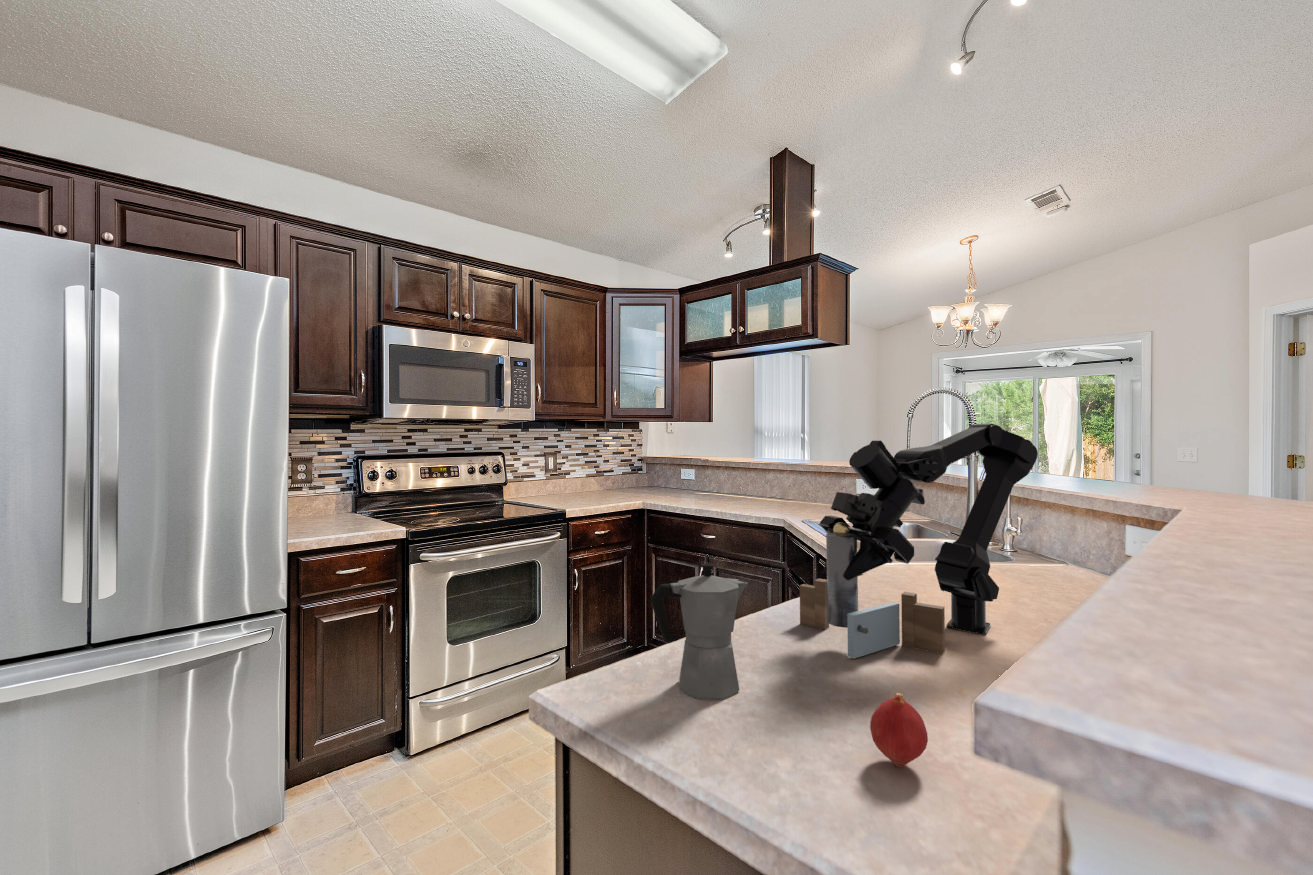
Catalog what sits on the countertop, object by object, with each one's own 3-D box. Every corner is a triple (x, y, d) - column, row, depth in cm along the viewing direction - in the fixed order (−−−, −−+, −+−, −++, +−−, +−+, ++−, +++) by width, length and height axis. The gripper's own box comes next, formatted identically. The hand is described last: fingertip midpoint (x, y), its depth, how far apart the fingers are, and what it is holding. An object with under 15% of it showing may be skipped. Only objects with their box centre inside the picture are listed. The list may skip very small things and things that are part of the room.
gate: (893, 641, 99) (893, 601, 99) (907, 646, 97) (906, 605, 97) (847, 656, 92) (847, 613, 92) (861, 661, 90) (860, 617, 90)
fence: (803, 621, 111) (803, 576, 111) (945, 650, 95) (944, 597, 95) (799, 624, 109) (799, 578, 109) (942, 654, 94) (942, 600, 94)
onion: (861, 751, 65) (861, 682, 65) (909, 748, 65) (908, 679, 65) (886, 782, 59) (885, 705, 59) (938, 778, 60) (938, 703, 60)
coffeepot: (733, 667, 89) (732, 553, 89) (765, 692, 80) (763, 566, 80) (641, 682, 84) (640, 561, 84) (663, 711, 75) (662, 576, 75)
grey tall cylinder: (834, 615, 100) (832, 519, 100) (862, 621, 97) (860, 521, 97) (823, 623, 96) (821, 523, 96) (852, 629, 93) (850, 525, 93)
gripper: (827, 472, 106) (776, 535, 103) (898, 479, 89) (840, 554, 85) (862, 511, 109) (814, 573, 106) (938, 525, 91) (884, 600, 88)
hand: (835, 574), depth 96 cm, fingers closed on grey tall cylinder, 5 cm apart
